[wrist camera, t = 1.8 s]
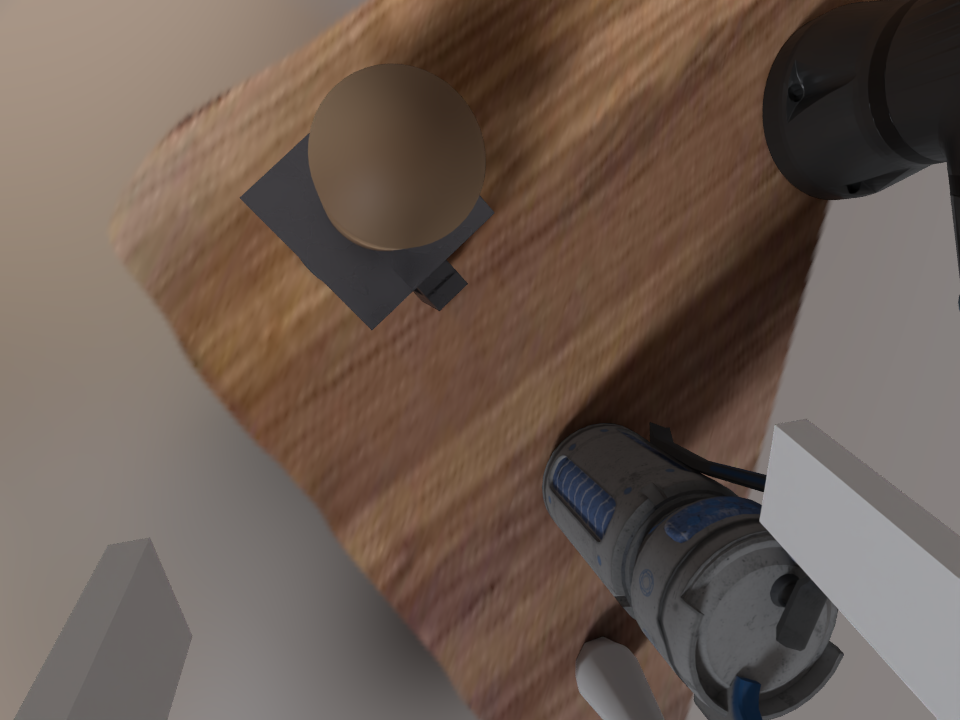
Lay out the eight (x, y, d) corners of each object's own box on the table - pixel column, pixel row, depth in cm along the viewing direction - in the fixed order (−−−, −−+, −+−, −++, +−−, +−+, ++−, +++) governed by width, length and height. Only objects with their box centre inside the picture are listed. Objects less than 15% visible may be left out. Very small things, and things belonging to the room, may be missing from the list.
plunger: (437, 209, 33) (519, 167, 18) (372, 271, 33) (397, 284, 17) (373, 137, 32) (402, 23, 16) (305, 201, 31) (267, 148, 16)
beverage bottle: (675, 414, 52) (957, 549, 28) (616, 550, 53) (840, 792, 29) (575, 376, 50) (794, 488, 25) (515, 520, 50) (671, 758, 26)
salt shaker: (581, 696, 55) (650, 826, 42) (557, 649, 54) (622, 769, 41) (634, 664, 56) (718, 782, 43) (613, 617, 54) (693, 725, 42)
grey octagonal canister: (481, 239, 46) (528, 233, 34) (378, 338, 45) (390, 366, 34) (366, 107, 42) (374, 52, 31) (253, 213, 42) (219, 196, 30)
